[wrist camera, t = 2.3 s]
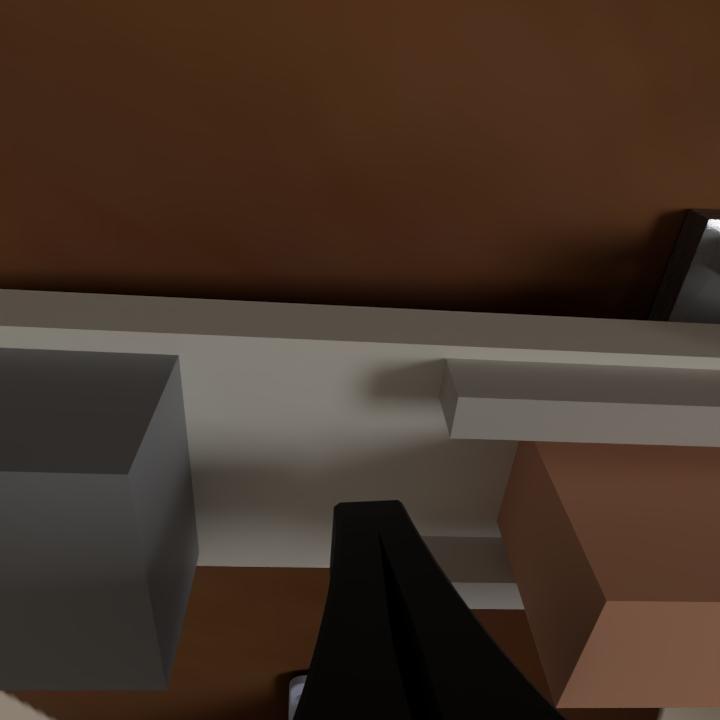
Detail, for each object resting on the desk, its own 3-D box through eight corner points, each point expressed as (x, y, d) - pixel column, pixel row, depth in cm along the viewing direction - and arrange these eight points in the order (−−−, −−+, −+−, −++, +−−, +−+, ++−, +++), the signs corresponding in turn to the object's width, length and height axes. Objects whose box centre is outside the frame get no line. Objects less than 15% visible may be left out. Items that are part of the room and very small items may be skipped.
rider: (496, 521, 15) (555, 707, 11) (524, 421, 13) (606, 601, 9) (719, 525, 15) (852, 706, 11) (774, 430, 14) (953, 604, 10)
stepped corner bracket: (83, 535, 18) (25, 706, 14) (-6, 182, 12) (-154, 284, 8) (917, 495, 23) (1069, 614, 19) (1134, 225, 17) (1429, 305, 13)
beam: (50, 523, 16) (-50, 711, 12) (-23, 275, 12) (-211, 423, 8) (1099, 544, 19) (1326, 706, 15) (1319, 343, 15) (1723, 484, 11)
